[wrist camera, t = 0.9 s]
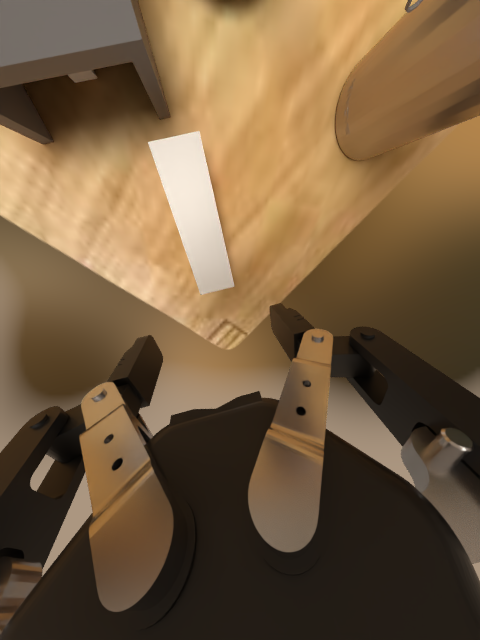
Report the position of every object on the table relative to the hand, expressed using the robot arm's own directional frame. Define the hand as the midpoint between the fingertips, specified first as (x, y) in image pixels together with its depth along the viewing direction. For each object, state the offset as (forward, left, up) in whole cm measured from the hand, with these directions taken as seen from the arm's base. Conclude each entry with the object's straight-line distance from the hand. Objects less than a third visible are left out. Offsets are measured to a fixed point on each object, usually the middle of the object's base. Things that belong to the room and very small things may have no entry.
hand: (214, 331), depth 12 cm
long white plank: (0, -6, -19) cm, 20 cm away
